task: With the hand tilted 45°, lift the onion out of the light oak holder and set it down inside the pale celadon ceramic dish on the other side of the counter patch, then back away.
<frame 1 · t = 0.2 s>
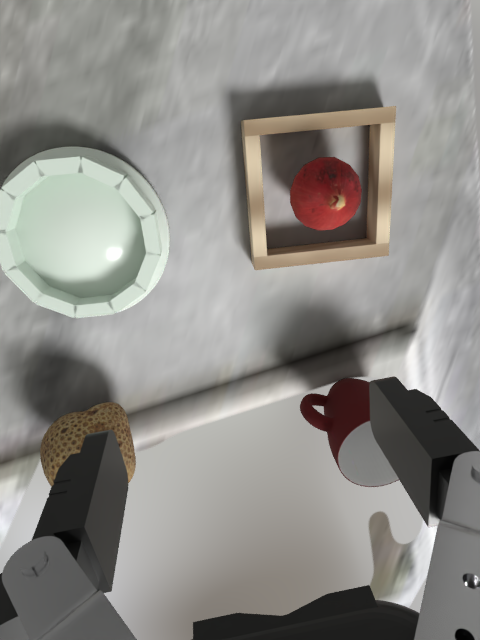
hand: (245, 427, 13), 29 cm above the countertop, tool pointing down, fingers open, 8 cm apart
holder: (314, 189, 39), on the countertop
natural sponge: (100, 420, 47), on the countertop
mug: (335, 391, 48), on the countertop
dish: (86, 235, 39), on the countertop
onion: (313, 189, 40), resting in holder
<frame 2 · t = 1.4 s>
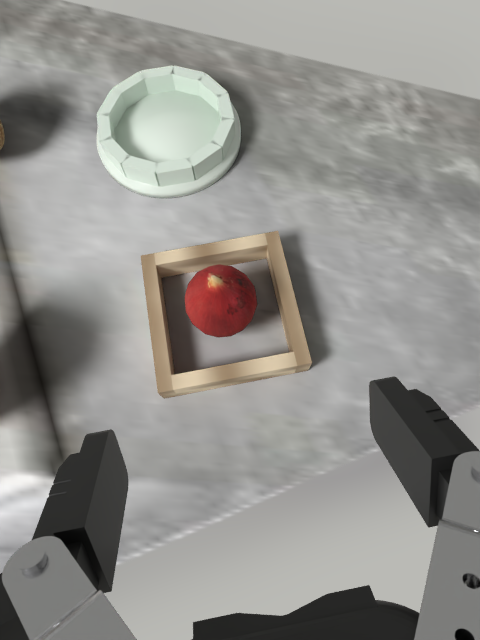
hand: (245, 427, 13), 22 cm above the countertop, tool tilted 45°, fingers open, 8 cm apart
holder: (223, 317, 39), on the countertop
dish: (170, 138, 46), on the countertop
onion: (223, 317, 39), resting in holder
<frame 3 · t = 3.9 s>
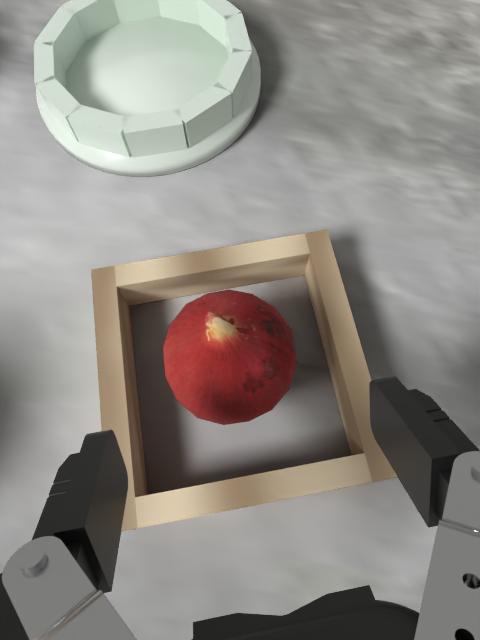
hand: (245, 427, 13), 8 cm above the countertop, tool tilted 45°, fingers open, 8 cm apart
holder: (233, 375, 23), on the countertop
dish: (151, 87, 30), on the countertop
onion: (233, 376, 23), resting in holder
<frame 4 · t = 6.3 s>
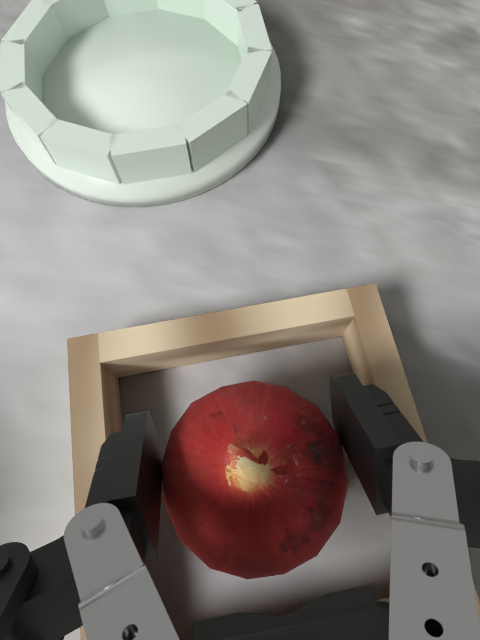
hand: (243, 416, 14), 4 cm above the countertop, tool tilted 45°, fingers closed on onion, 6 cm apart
holder: (253, 475, 17), on the countertop
dish: (147, 95, 25), on the countertop
onion: (253, 475, 18), resting in holder, touching gripper
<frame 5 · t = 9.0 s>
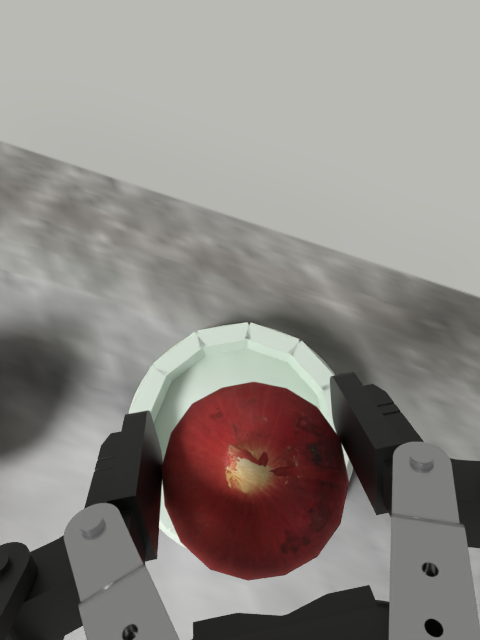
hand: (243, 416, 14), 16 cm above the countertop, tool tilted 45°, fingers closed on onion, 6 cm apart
dish: (240, 433, 29), on the countertop
onion: (253, 475, 18), point 11 cm above the countertop, touching gripper
when the fingers open (7 cm above the countertop, at t = 12.0 s): onion drops 1 cm, resting on dish.
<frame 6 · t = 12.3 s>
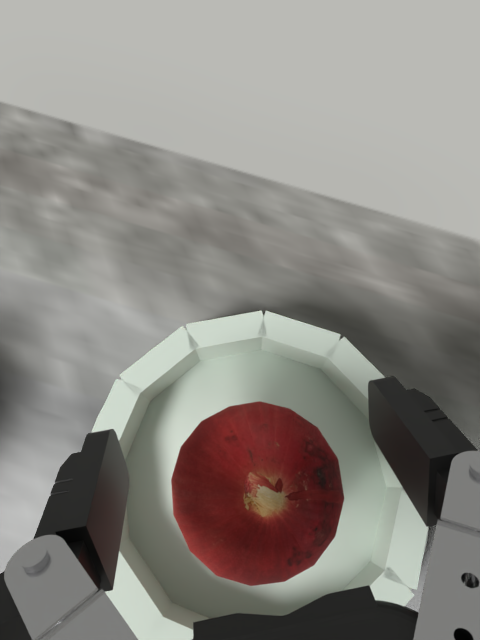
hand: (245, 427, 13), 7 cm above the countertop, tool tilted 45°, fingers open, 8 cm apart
dish: (252, 476, 20), on the countertop
onion: (247, 481, 19), point 1 cm above the countertop, touching dish
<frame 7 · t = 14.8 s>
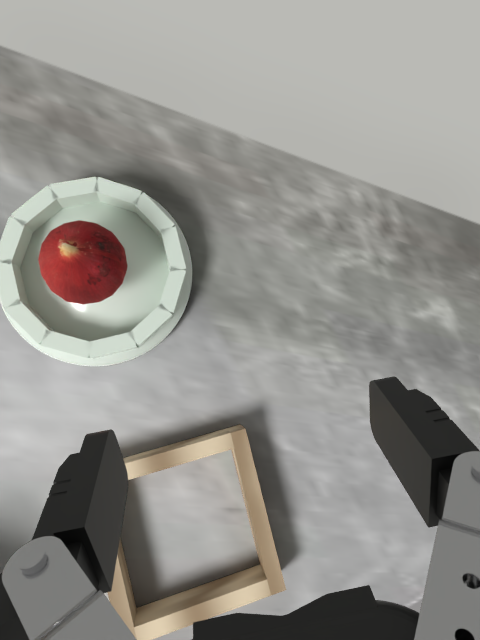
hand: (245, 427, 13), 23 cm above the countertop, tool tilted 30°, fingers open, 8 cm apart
holder: (184, 522, 34), on the countertop
dish: (99, 273, 35), on the countertop
onion: (95, 274, 34), point 1 cm above the countertop, touching dish
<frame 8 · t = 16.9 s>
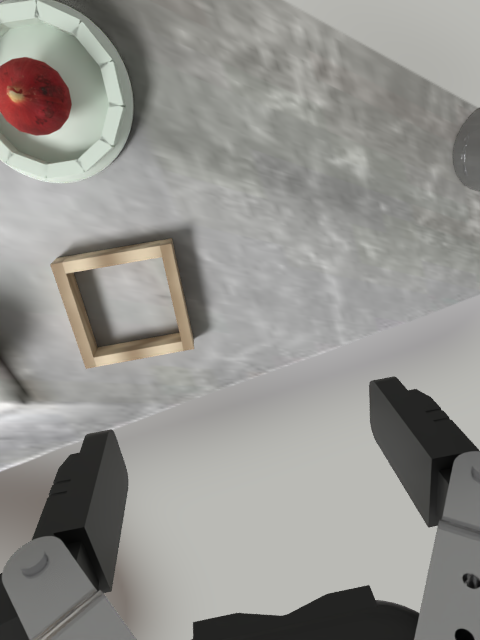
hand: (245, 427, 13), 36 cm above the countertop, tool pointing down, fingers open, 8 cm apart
holder: (129, 300, 49), on the countertop
dish: (51, 97, 40), on the countertop
onion: (46, 99, 40), point 1 cm above the countertop, touching dish
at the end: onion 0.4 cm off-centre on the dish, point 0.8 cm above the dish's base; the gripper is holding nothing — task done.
